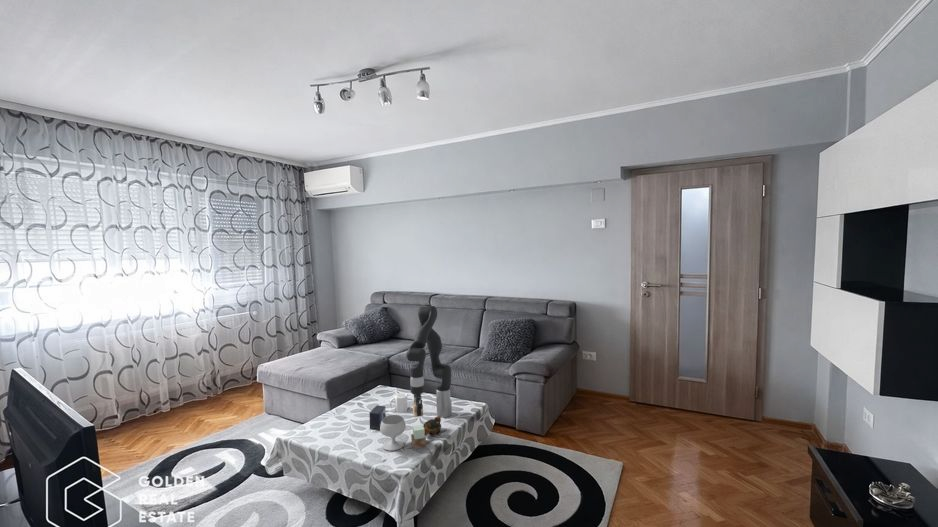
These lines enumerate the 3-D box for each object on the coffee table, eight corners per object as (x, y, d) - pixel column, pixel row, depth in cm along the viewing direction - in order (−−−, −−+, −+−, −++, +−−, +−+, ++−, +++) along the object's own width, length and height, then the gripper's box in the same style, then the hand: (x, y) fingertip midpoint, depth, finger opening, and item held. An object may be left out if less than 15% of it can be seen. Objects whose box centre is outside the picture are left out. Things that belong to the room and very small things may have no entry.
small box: (379, 430, 233) (378, 413, 233) (369, 429, 235) (368, 412, 234) (386, 421, 244) (385, 405, 243) (376, 421, 245) (376, 405, 244)
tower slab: (423, 440, 221) (423, 432, 220) (426, 446, 214) (425, 438, 214) (411, 442, 218) (411, 434, 218) (413, 449, 212) (413, 440, 211)
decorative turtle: (446, 428, 233) (445, 416, 232) (432, 442, 220) (431, 429, 219) (432, 424, 238) (432, 412, 237) (418, 437, 225) (417, 424, 224)
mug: (407, 406, 266) (406, 392, 265) (408, 411, 257) (407, 397, 256) (389, 408, 263) (388, 394, 262) (389, 413, 254) (389, 399, 254)
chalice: (411, 444, 216) (410, 418, 215) (391, 455, 206) (390, 428, 205) (396, 436, 226) (395, 411, 225) (375, 446, 215) (374, 420, 214)
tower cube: (422, 433, 219) (422, 424, 219) (424, 437, 214) (424, 429, 214) (413, 434, 218) (412, 426, 217) (414, 439, 212) (414, 430, 212)
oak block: (421, 412, 218) (421, 401, 217) (423, 415, 213) (422, 405, 213) (413, 413, 216) (412, 403, 216) (414, 417, 212) (414, 406, 211)
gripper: (426, 387, 208) (427, 418, 209) (421, 378, 221) (422, 407, 223) (412, 389, 206) (413, 420, 207) (408, 380, 219) (409, 409, 220)
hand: (418, 413), depth 215 cm, fingers closed on oak block, 4 cm apart
